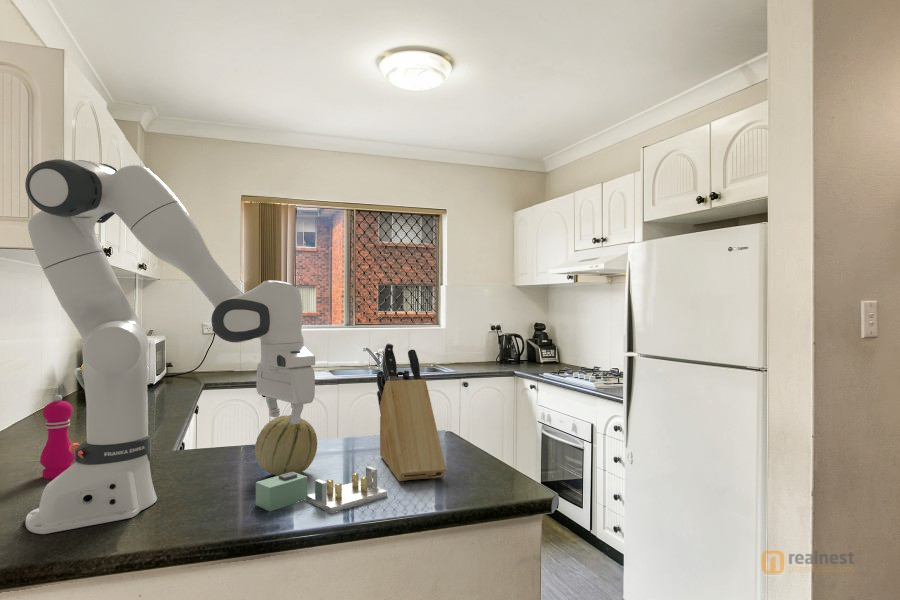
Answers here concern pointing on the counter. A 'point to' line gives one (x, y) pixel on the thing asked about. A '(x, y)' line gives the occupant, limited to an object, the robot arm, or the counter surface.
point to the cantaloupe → (286, 446)
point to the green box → (281, 491)
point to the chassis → (346, 492)
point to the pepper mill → (57, 438)
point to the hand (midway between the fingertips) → (284, 419)
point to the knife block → (407, 422)
